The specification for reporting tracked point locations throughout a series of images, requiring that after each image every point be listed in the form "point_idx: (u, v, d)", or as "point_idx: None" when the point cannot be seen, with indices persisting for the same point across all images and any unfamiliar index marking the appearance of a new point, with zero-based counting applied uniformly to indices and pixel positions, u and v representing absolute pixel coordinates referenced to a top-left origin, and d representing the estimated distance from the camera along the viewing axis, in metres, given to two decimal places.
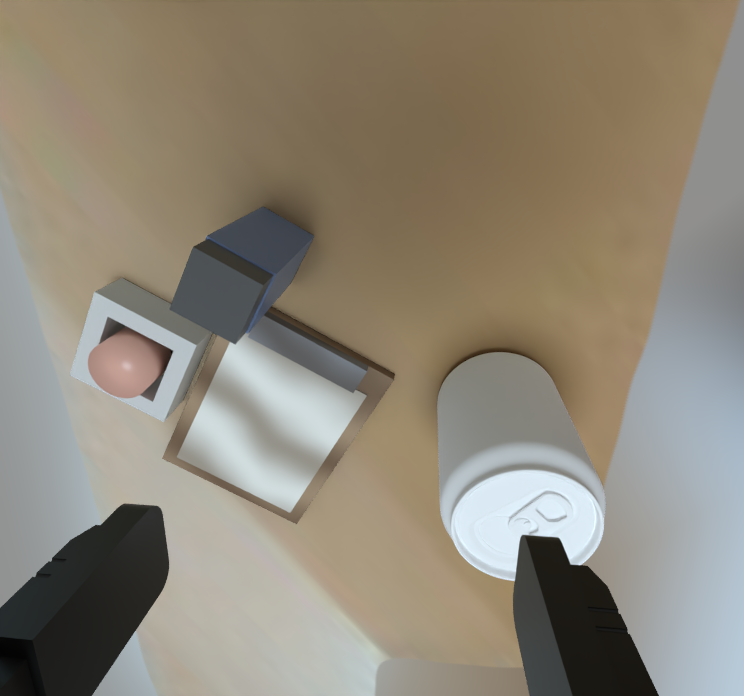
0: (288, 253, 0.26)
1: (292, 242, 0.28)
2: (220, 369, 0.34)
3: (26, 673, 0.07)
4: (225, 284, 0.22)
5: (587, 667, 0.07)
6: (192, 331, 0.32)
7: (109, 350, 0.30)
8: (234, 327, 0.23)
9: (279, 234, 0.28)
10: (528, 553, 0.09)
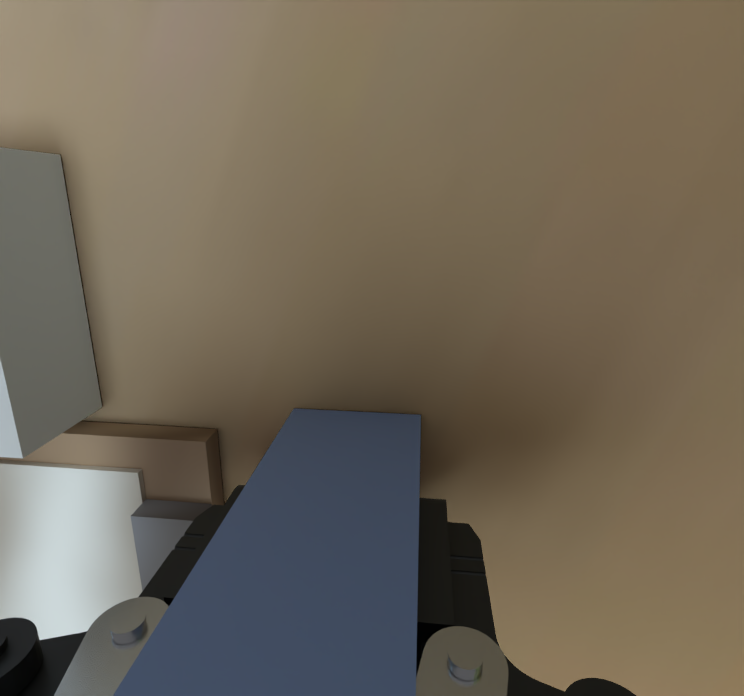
0: None
1: None
2: (17, 470, 0.14)
3: None
4: None
5: (431, 597, 0.08)
6: (52, 404, 0.12)
7: None
8: None
9: None
10: None
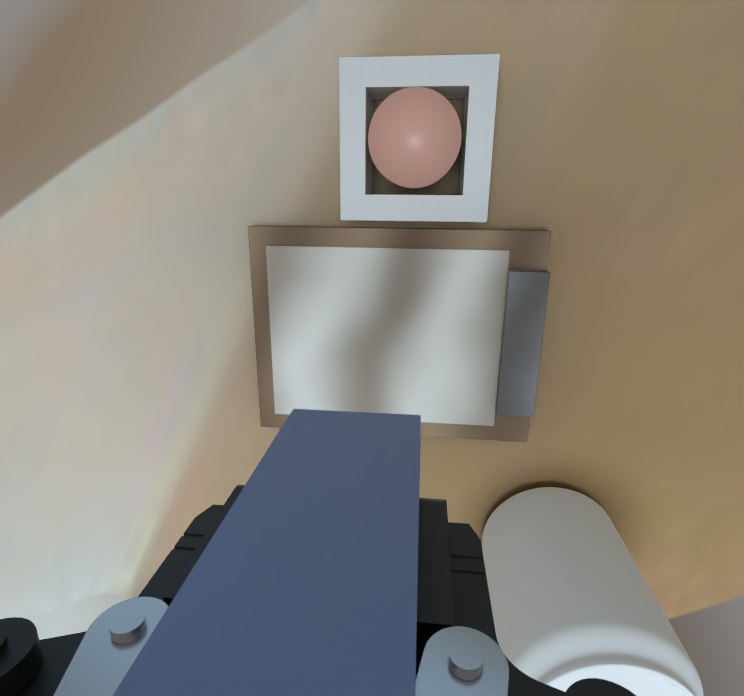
0: None
1: None
2: (436, 253, 0.26)
3: None
4: None
5: (432, 598, 0.08)
6: None
7: (442, 115, 0.20)
8: None
9: None
10: None
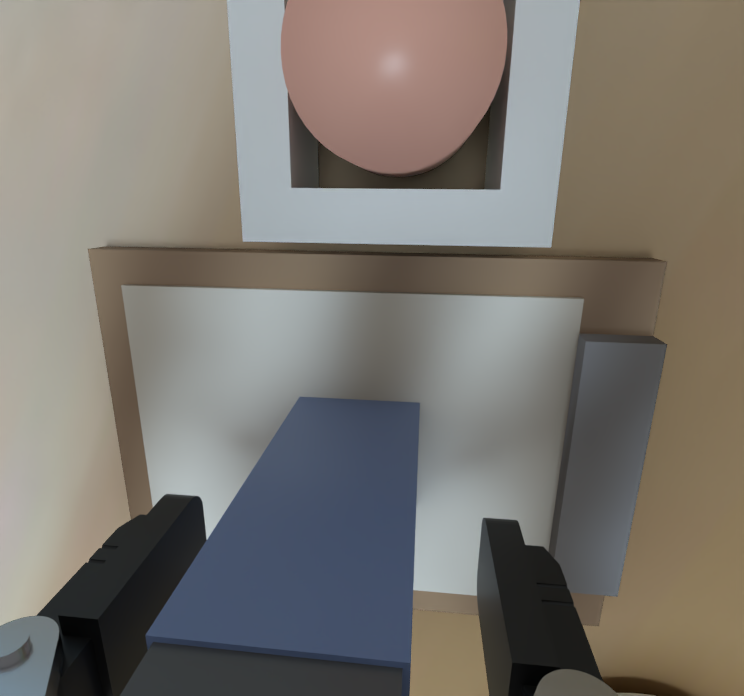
0: None
1: None
2: (441, 302, 0.13)
3: (91, 651, 0.08)
4: None
5: (528, 634, 0.07)
6: None
7: None
8: None
9: None
10: (486, 534, 0.10)
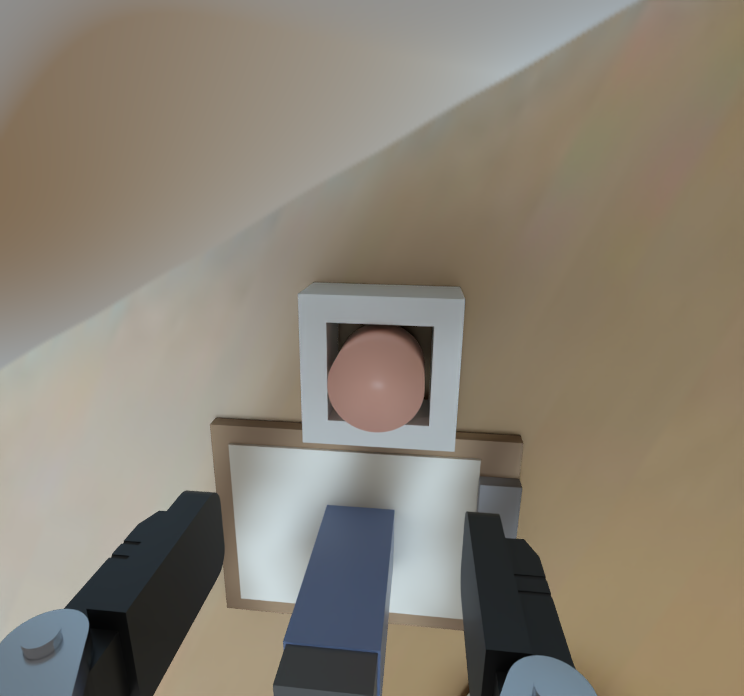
0: (386, 640, 0.22)
1: (389, 601, 0.23)
2: (405, 459, 0.25)
3: (119, 644, 0.08)
4: None
5: (503, 622, 0.08)
6: None
7: (404, 368, 0.19)
8: None
9: (389, 586, 0.23)
10: (468, 527, 0.10)
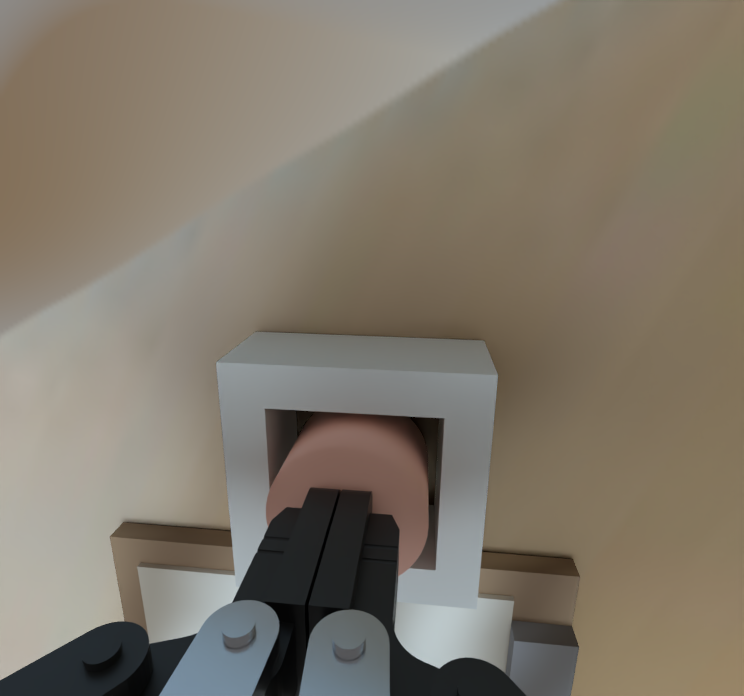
0: None
1: None
2: None
3: (295, 636, 0.08)
4: None
5: (333, 583, 0.08)
6: None
7: (394, 491, 0.11)
8: None
9: None
10: None
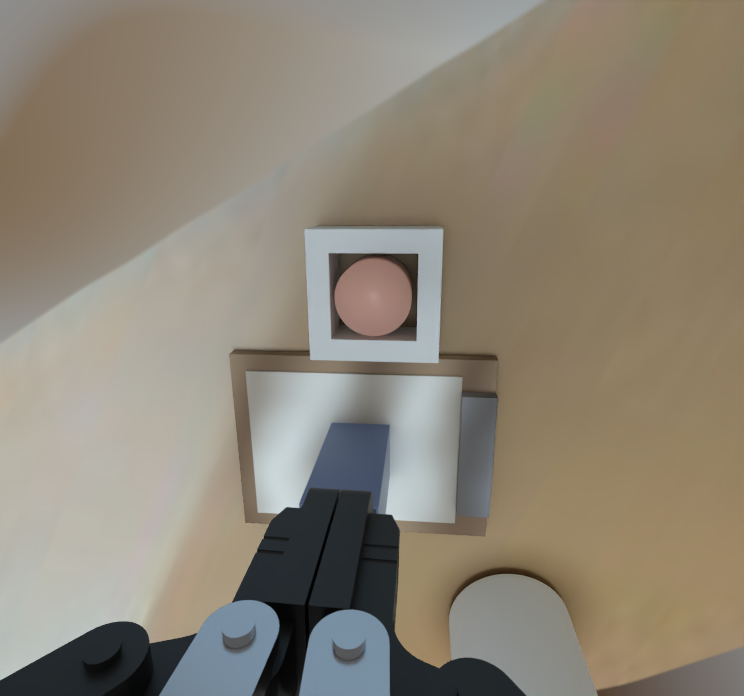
0: None
1: (386, 496, 0.28)
2: (398, 378, 0.29)
3: (295, 636, 0.08)
4: None
5: (333, 583, 0.08)
6: None
7: (395, 281, 0.25)
8: None
9: (386, 482, 0.27)
10: None
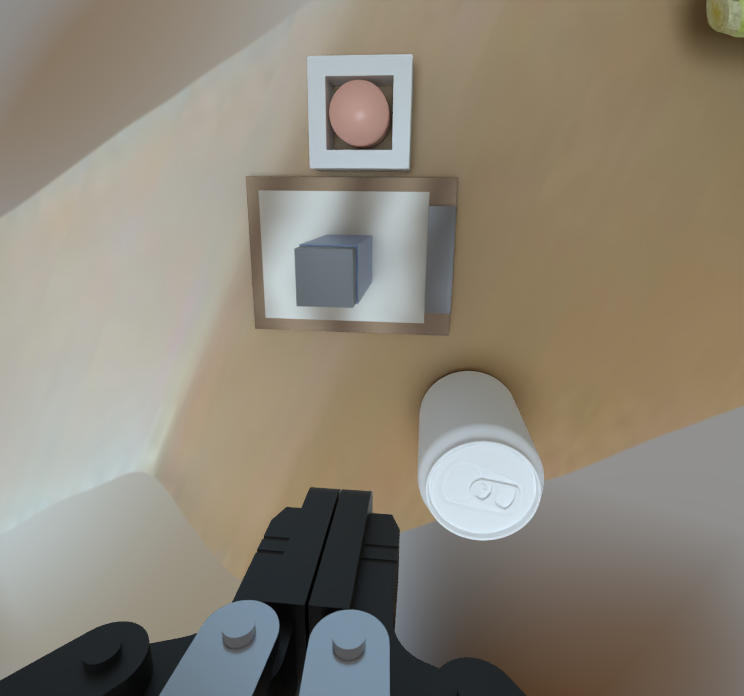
0: (364, 289, 0.33)
1: (367, 280, 0.35)
2: (379, 194, 0.36)
3: (295, 636, 0.08)
4: (338, 282, 0.28)
5: (333, 583, 0.08)
6: None
7: (375, 97, 0.32)
8: (309, 300, 0.29)
9: (367, 268, 0.35)
10: None
